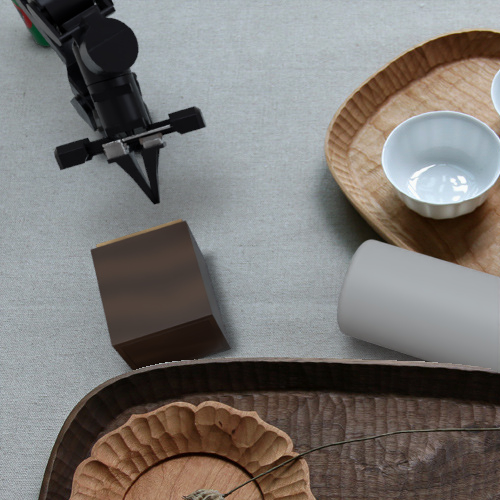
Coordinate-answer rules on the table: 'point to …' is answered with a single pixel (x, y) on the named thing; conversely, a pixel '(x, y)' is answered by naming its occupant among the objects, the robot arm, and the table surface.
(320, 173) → the table surface
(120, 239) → the drawer
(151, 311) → the cabinet
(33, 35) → the soda can
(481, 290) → the cylinder vase
